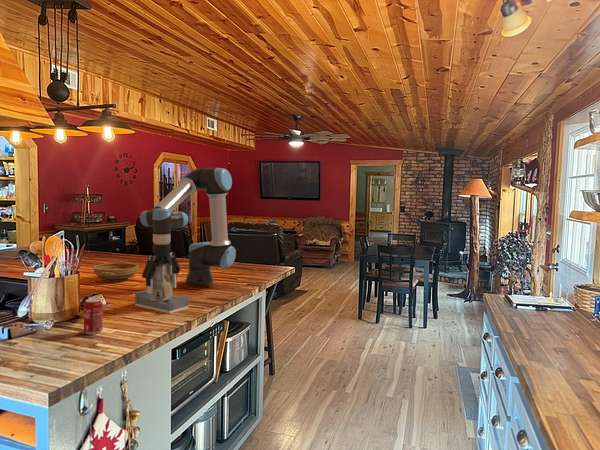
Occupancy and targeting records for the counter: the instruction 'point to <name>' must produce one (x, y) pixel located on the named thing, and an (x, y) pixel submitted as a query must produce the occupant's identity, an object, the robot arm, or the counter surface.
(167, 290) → the coffee box
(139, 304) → the grey tray
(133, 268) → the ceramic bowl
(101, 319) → the beverage can
